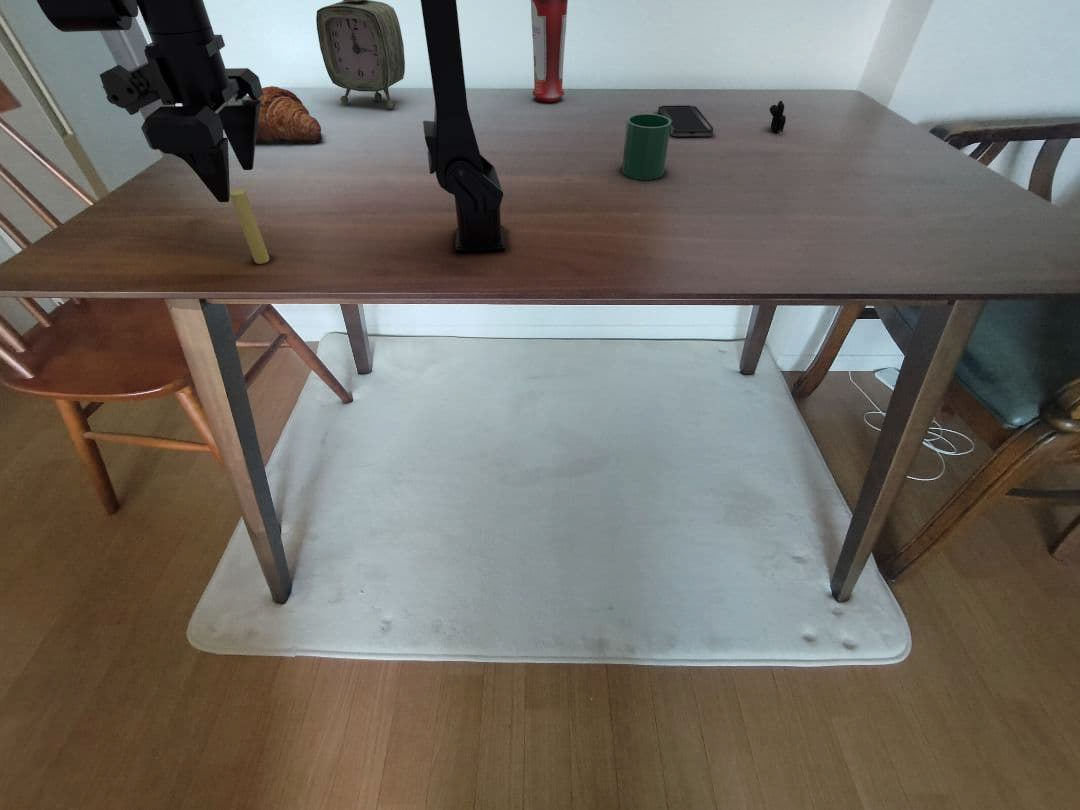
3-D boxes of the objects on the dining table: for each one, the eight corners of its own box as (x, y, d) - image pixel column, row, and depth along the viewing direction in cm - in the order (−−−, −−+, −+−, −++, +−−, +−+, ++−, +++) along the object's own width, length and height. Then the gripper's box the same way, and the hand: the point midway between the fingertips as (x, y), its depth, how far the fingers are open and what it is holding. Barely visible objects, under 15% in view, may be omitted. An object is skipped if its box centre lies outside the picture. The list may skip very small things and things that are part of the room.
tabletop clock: (333, 106, 121) (299, -45, 103) (355, 94, 127) (327, -50, 110) (395, 113, 118) (371, -42, 100) (415, 100, 124) (395, -47, 107)
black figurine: (782, 137, 108) (790, 108, 104) (769, 136, 108) (776, 107, 104) (775, 125, 113) (782, 96, 109) (762, 124, 113) (769, 96, 109)
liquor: (527, 96, 126) (525, -69, 107) (558, 93, 128) (562, -70, 109) (537, 105, 121) (536, -66, 102) (569, 102, 123) (575, -67, 104)
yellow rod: (267, 263, 73) (242, 194, 67) (253, 264, 73) (227, 195, 67) (271, 256, 75) (247, 188, 69) (257, 257, 75) (231, 188, 68)
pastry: (224, 153, 101) (206, 103, 96) (232, 125, 112) (216, 79, 106) (323, 143, 105) (311, 95, 99) (322, 117, 115) (311, 72, 110)
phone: (695, 105, 118) (714, 130, 107) (694, 111, 118) (713, 136, 108) (657, 105, 117) (672, 130, 106) (656, 111, 118) (671, 136, 107)
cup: (667, 179, 93) (676, 127, 88) (626, 180, 93) (632, 128, 87) (658, 163, 98) (665, 113, 93) (618, 164, 98) (623, 114, 92)
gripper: (136, 11, 63) (194, 157, 74) (42, 52, 50) (130, 223, 60) (240, 10, 64) (283, 154, 74) (176, 50, 50) (240, 220, 61)
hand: (236, 184), depth 67 cm, fingers open, 9 cm apart
